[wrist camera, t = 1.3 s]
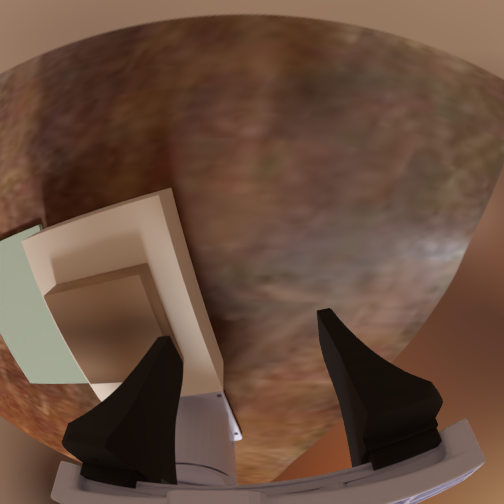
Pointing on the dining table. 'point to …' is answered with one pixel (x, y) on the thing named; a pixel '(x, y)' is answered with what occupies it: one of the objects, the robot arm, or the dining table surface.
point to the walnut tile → (110, 321)
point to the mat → (31, 319)
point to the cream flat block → (130, 254)
